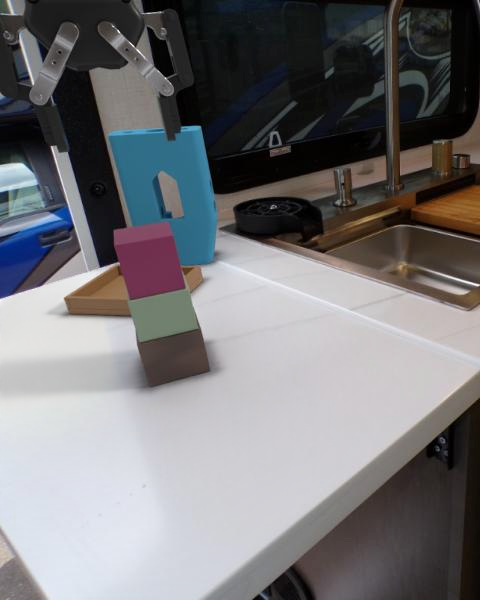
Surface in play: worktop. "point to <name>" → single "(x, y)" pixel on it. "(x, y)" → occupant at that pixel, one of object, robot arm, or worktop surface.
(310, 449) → the worktop surface
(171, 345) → the walnut block
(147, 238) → the mulberry block
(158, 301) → the sage block
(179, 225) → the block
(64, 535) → the worktop surface
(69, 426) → the worktop surface
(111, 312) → the tray
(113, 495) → the worktop surface
